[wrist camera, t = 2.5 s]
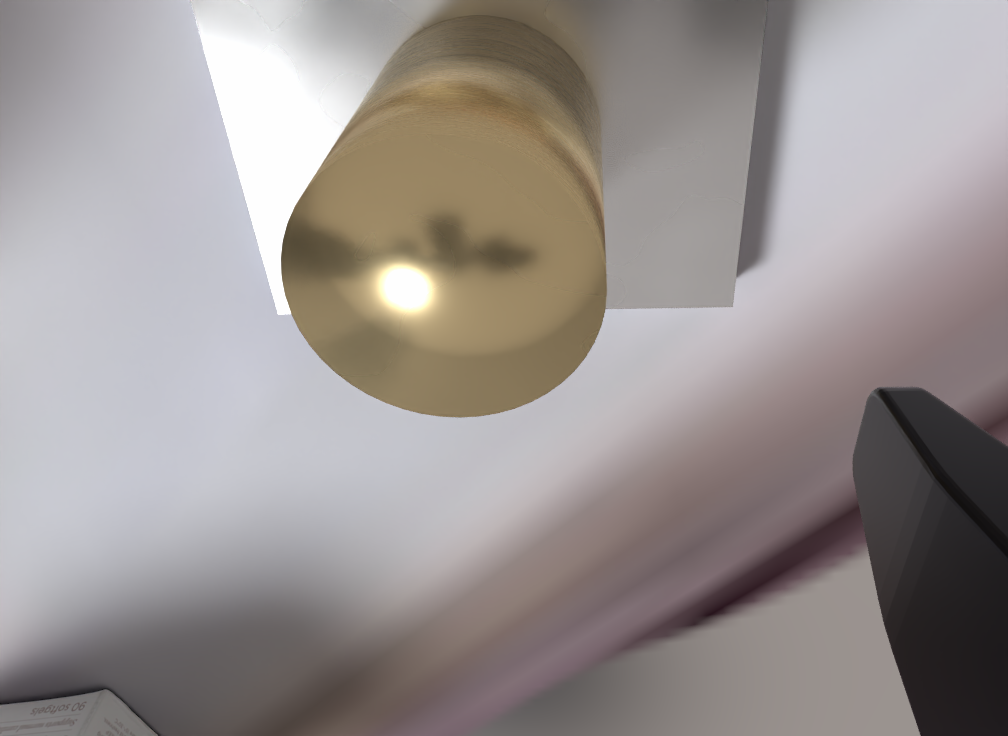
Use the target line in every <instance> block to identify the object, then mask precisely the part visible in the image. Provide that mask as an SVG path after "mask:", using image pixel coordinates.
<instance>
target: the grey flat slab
mask: <svg viewBox="0 0 1008 736" xmlns="http://www.w3.org/2000/svg"><path fill="white" fill-rule="evenodd" d="M190 2H191V6H192V9H193V13H194V16H195V20H196V23H197V27H198V31H199V34H200V38H201V41H202V45H203V48H204V52H205V55H206V59H207V62H208V66H209V70H210V73H211V77H212V80H213V84H214V87H215V91H216V94H217V98H218V102H219V105H220V109H221V112H222V116H223V119H224V123H225V126H226V130H227V134H228V137H229V141H230V144H231V148H232V151H233V155H234V158H235V162H236V165H237V169H238V173H239V176H240V180H241V183H242V187H243V190H244V194H245V197H246V201H247V205H248V208H249V212H250V215H251V219H252V222H253V226H254V229H255V233H256V237H257V240H258V244H259V247H260V251H261V254H262V258H263V261H264V265H265V268H266V272H267V276H268V279H269V283H270V286H271V290H272V293H273V297H274V300H275V304H276V308H277V311H278V314H291V312H290V309H289V306H288V303H287V300H286V298H285V294H284V289H283V284H282V279H281V261H280V258H281V249H282V240H283V236H284V233H285V229H286V225H287V222H288V220H289V218H290V215H291V213H292V211H293V209H294V206H295V205H296V203H297V201H298V200H299V198H300V197H301V195H302V194H303V192H304V191H305V189H306V187H307V186H308V184H309V183H310V181H311V180H312V178H313V177H314V175H315V173H316V172H317V170H318V169H319V167H320V166H321V164H322V163H323V161H324V159H325V158H326V156H327V155H328V153H329V152H330V150H331V149H332V147H333V145H334V144H335V142H336V141H337V139H338V138H339V136H340V135H341V133H342V131H343V130H344V128H345V127H346V125H347V124H348V122H349V121H350V119H351V117H352V116H353V114H354V113H355V111H356V110H357V108H358V107H359V105H360V103H361V102H362V100H363V99H364V97H365V96H366V94H367V93H368V91H369V90H370V88H371V86H372V85H373V83H374V82H375V80H376V79H377V77H378V76H379V74H380V72H381V71H382V69H383V68H384V66H385V65H386V63H387V62H388V60H389V59H390V57H391V56H392V55H393V54H394V53H395V52H396V51H397V50H398V48H399V47H400V46H401V45H403V44H404V43H405V42H406V41H407V40H409V39H410V38H411V37H412V36H414V35H415V34H417V33H419V32H420V31H422V30H423V29H425V28H427V27H429V26H432V25H434V24H436V23H438V22H441V21H445V20H448V19H452V18H456V17H463V16H471V15H489V16H496V17H502V18H507V19H511V20H514V21H517V22H521V23H523V24H525V25H528V26H530V27H532V28H534V29H536V30H538V31H540V32H541V33H543V34H545V35H546V36H548V37H549V38H551V39H552V40H553V41H555V42H556V43H557V44H558V45H559V46H561V47H562V48H563V49H564V50H565V51H566V52H567V53H568V54H569V55H570V56H571V57H572V59H573V60H574V61H575V62H576V63H577V65H578V66H579V68H580V69H581V71H582V72H583V73H584V75H585V77H586V79H587V81H588V83H589V85H590V87H591V89H592V91H593V94H594V97H595V100H596V103H597V106H598V111H599V116H600V125H601V144H602V170H603V196H604V222H605V248H606V274H607V297H606V309H636V308H700V307H733V300H734V291H735V282H736V274H737V265H738V257H739V248H740V239H741V231H742V222H743V213H744V205H745V196H746V187H747V179H748V170H749V162H750V153H751V144H752V136H753V127H754V118H755V110H756V101H757V93H758V84H759V75H760V67H761V58H762V49H763V41H764V32H765V23H766V15H767V6H768V0H190Z"/></svg>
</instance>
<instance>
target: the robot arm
mask: <svg viewBox="0 0 1008 736" xmlns="http://www.w3.org/2000/svg"><path fill="white" fill-rule="evenodd" d="M853 477H854V483H855V488H856V493H857V498H858V502H859V507H860V512H861V517H862V522H863V527H864V532H865V537H866V541H867V546H868V551H869V556H870V561H871V566H872V571H873V575H874V580H875V585H876V590H877V595H878V600H879V604H880V608H881V613H882V617H883V622H884V625H885V629H886V632H887V635H888V638H889V642H890V645H891V649H892V652H893V655H894V658H895V661H896V663H897V666H898V669H899V672H900V675H901V678H902V682H903V685H904V687H905V690H906V693H907V696H908V699H909V702H910V705H911V708H912V711H913V714H914V717H915V720H916V723H917V726H918V729H919V732H920V735H921V736H1008V446H1006V445H1005V444H1003V443H1002V442H1001V441H999V440H998V439H996V438H995V437H993V436H992V435H990V434H989V433H987V432H986V431H985V430H983V429H982V428H980V427H979V426H977V425H976V424H974V423H973V422H971V421H970V420H969V419H967V418H966V417H964V416H963V415H961V414H960V413H958V412H957V411H955V410H954V409H953V408H951V407H950V406H948V405H947V404H945V403H944V402H942V401H941V400H940V399H938V398H937V397H935V396H934V395H932V394H931V393H929V392H928V391H926V390H924V389H922V388H919V387H879V388H877V389H875V390H873V391H872V392H871V394H870V395H869V397H868V399H867V402H866V406H865V410H864V414H863V418H862V422H861V426H860V430H859V434H858V438H857V442H856V445H855V449H854V454H853Z"/></svg>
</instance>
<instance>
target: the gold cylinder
mask: <svg viewBox="0 0 1008 736" xmlns="http://www.w3.org/2000/svg"><path fill="white" fill-rule="evenodd" d="M280 261H281V279H282V284H283V289H284V294H285V298H286V300H287V303H288V306H289V309H290V312H291V314H292V316H293V318H294V320H295V322H296V324H297V326H298V328H299V330H300V332H301V333H302V335H303V336H304V338H305V339H306V341H307V342H308V344H309V345H310V346H311V348H312V349H313V350H314V351H315V352H316V353H317V355H318V356H319V357H320V358H321V359H322V360H323V361H324V362H325V363H326V364H327V365H328V366H329V367H330V368H331V369H332V370H333V371H334V372H336V373H337V374H338V375H339V376H341V377H342V378H343V379H345V380H346V381H347V382H349V383H350V384H351V385H353V386H355V387H356V388H358V389H360V390H361V391H363V392H365V393H366V394H368V395H370V396H372V397H374V398H377V399H379V400H381V401H383V402H385V403H388V404H391V405H393V406H396V407H399V408H402V409H405V410H409V411H413V412H417V413H421V414H428V415H434V416H442V417H476V416H484V415H490V414H496V413H500V412H504V411H508V410H511V409H515V408H517V407H520V406H522V405H525V404H527V403H530V402H532V401H534V400H536V399H538V398H539V397H541V396H543V395H545V394H547V393H548V392H550V391H551V390H553V389H554V388H555V387H557V386H558V385H560V384H561V383H562V382H563V381H564V380H565V379H566V378H567V377H569V376H570V375H571V374H572V373H573V372H574V371H575V370H576V368H577V367H578V366H579V365H580V364H581V362H582V361H583V360H584V359H585V357H586V356H587V354H588V352H589V351H590V349H591V347H592V346H593V344H594V342H595V340H596V338H597V335H598V333H599V330H600V328H601V325H602V321H603V317H604V313H605V309H606V297H607V274H606V248H605V222H604V196H603V170H602V144H601V125H600V116H599V111H598V106H597V103H596V100H595V97H594V94H593V91H592V89H591V87H590V85H589V83H588V81H587V79H586V77H585V75H584V73H583V72H582V71H581V69H580V68H579V66H578V65H577V63H576V62H575V61H574V60H573V59H572V57H571V56H570V55H569V54H568V53H567V52H566V51H565V50H564V49H563V48H562V47H561V46H559V45H558V44H557V43H556V42H555V41H553V40H552V39H551V38H549V37H548V36H546V35H545V34H543V33H541V32H540V31H538V30H536V29H534V28H532V27H530V26H528V25H525V24H523V23H521V22H517V21H514V20H511V19H507V18H502V17H496V16H489V15H471V16H463V17H456V18H452V19H448V20H445V21H441V22H438V23H436V24H434V25H432V26H429V27H427V28H425V29H423V30H422V31H420V32H419V33H417V34H415V35H414V36H412V37H411V38H410V39H409V40H407V41H406V42H405V43H404V44H403V45H401V46H400V47H399V48H398V50H397V51H396V52H395V53H394V54H393V55H392V56H391V57H390V59H389V60H388V62H387V63H386V65H385V66H384V68H383V69H382V71H381V72H380V74H379V76H378V77H377V79H376V80H375V82H374V83H373V85H372V86H371V88H370V90H369V91H368V93H367V94H366V96H365V97H364V99H363V100H362V102H361V103H360V105H359V107H358V108H357V110H356V111H355V113H354V114H353V116H352V117H351V119H350V121H349V122H348V124H347V125H346V127H345V128H344V130H343V131H342V133H341V135H340V136H339V138H338V139H337V141H336V142H335V144H334V145H333V147H332V149H331V150H330V152H329V153H328V155H327V156H326V158H325V159H324V161H323V163H322V164H321V166H320V167H319V169H318V170H317V172H316V173H315V175H314V177H313V178H312V180H311V181H310V183H309V184H308V186H307V187H306V189H305V191H304V192H303V194H302V195H301V197H300V198H299V200H298V201H297V203H296V205H295V206H294V209H293V211H292V213H291V215H290V218H289V220H288V222H287V225H286V229H285V233H284V236H283V240H282V249H281V258H280Z"/></svg>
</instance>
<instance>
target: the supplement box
mask: <svg viewBox="0 0 1008 736" xmlns="http://www.w3.org/2000/svg"><path fill="white" fill-rule="evenodd" d="M0 736H158V735H157V734H156V733H155V732H154V731H153V730H151V729H150V728H149V727H148V726H147V725H146V724H145V723H144V722H143V721H142V720H141V719H140V718H139V717H138V716H137V715H135V714H134V713H133V712H132V711H131V710H130V709H129V707H128V706H127V705H126V704H125V703H123V702H122V701H121V700H120V699H119V698H118V697H116V696H115V695H114V694H113V693H112V692H111V691H109V690H106V689H104V690H101V691H98V692H93V693H88V694H83V695H77V696H70V697H63V698H56V699H48V700H40V701H32V702H23V703H13V704H5V705H0Z"/></svg>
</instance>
